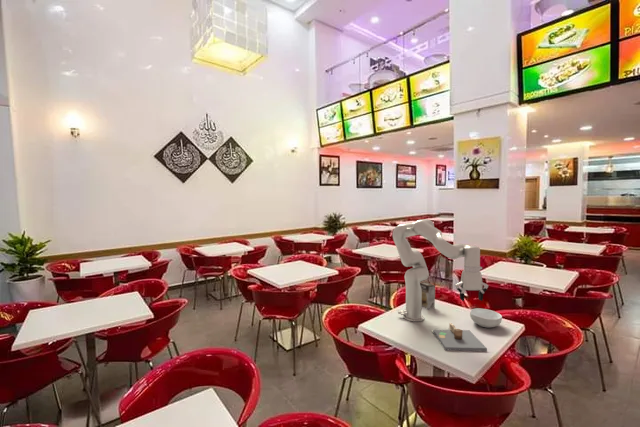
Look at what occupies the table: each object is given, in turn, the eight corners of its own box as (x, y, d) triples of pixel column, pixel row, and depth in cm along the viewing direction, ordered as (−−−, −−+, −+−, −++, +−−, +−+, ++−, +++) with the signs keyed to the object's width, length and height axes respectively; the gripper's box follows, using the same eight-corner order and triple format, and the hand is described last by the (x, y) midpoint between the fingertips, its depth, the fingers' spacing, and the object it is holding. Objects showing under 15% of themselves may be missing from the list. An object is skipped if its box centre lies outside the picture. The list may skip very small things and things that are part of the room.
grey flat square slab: (445, 350, 152) (445, 347, 152) (433, 332, 172) (433, 329, 172) (486, 351, 151) (486, 347, 151) (469, 332, 171) (469, 330, 171)
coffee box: (418, 305, 214) (418, 282, 213) (425, 303, 217) (425, 281, 216) (427, 309, 206) (428, 286, 205) (435, 307, 208) (435, 284, 207)
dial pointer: (463, 339, 159) (463, 332, 159) (455, 339, 159) (455, 332, 159) (454, 328, 172) (454, 321, 172) (446, 328, 172) (447, 321, 172)
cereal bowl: (494, 334, 169) (495, 321, 169) (464, 324, 182) (465, 312, 181) (506, 325, 180) (506, 313, 179) (477, 316, 193) (477, 306, 192)
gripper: (484, 267, 167) (484, 297, 168) (452, 267, 168) (452, 297, 169) (491, 270, 159) (491, 302, 160) (458, 270, 160) (458, 302, 161)
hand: (471, 300), depth 165 cm, fingers open, 9 cm apart
